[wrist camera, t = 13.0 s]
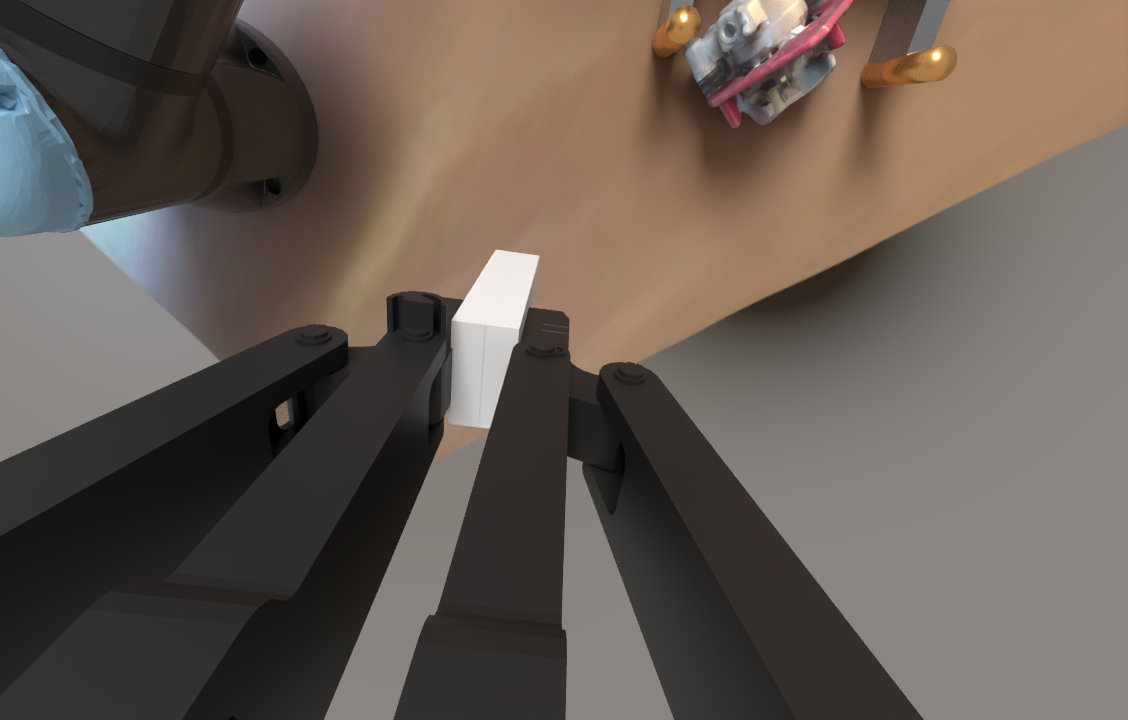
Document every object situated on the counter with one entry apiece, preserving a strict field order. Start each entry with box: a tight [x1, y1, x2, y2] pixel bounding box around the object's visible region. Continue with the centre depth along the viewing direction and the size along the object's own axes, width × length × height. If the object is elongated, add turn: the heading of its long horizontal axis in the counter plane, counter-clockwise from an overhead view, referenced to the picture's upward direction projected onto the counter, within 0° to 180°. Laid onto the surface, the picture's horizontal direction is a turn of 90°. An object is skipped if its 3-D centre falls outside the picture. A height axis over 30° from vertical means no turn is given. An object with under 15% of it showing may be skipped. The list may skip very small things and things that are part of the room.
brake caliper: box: [684, 0, 854, 128], centre depth 35 cm, size 11×11×12 cm
